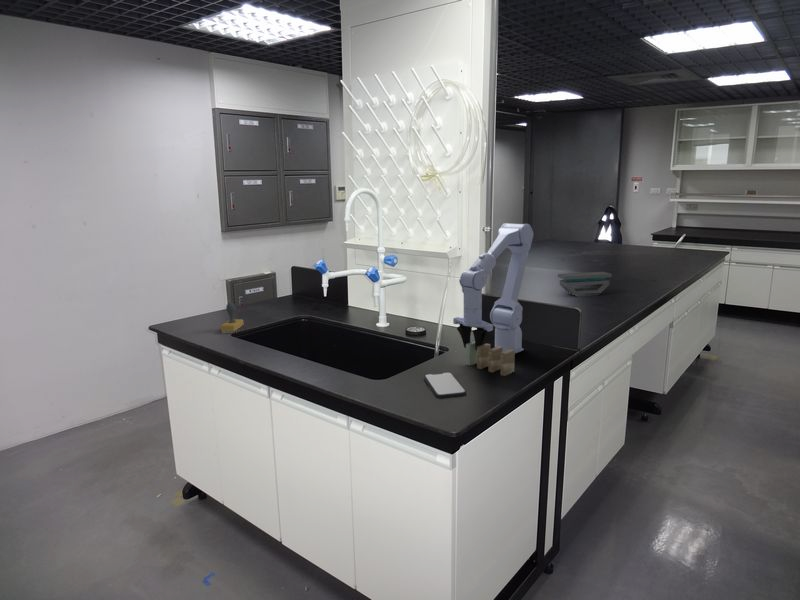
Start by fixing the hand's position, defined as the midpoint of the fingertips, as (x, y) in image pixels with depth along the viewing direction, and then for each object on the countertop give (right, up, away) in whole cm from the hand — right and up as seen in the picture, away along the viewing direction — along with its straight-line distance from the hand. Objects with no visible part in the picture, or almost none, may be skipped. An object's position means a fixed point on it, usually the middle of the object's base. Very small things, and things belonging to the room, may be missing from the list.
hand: (472, 348), depth 169 cm
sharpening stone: (+71, +18, +99) cm, 123 cm away
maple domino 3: (+9, -7, -8) cm, 14 cm away
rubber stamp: (-93, +3, +49) cm, 105 cm away
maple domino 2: (+6, -6, -5) cm, 10 cm away
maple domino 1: (+3, -6, -2) cm, 7 cm away
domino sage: (0, -5, +1) cm, 5 cm away
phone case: (-11, -10, -18) cm, 23 cm away
